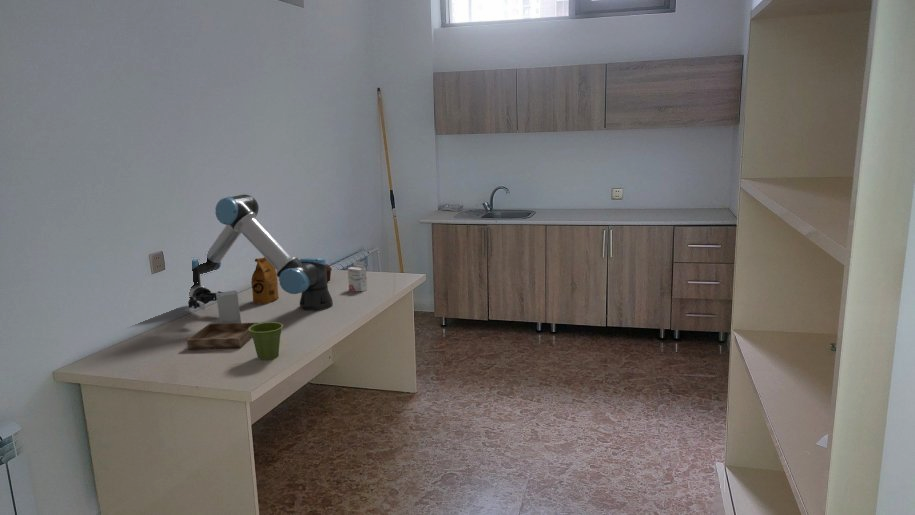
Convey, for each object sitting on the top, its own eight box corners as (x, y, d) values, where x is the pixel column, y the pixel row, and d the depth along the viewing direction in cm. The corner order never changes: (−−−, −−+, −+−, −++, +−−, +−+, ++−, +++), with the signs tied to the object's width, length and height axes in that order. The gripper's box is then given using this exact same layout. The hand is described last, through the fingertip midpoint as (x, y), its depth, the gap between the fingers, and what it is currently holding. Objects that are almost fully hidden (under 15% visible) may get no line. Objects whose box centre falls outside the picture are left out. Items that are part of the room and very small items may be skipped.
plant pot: (267, 364, 211) (263, 333, 209) (244, 359, 217) (241, 329, 215) (292, 354, 221) (290, 324, 219) (270, 349, 227) (267, 320, 225)
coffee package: (249, 303, 292) (245, 259, 288) (264, 297, 304) (260, 254, 299) (268, 304, 289) (263, 259, 285) (282, 297, 301) (277, 254, 297)
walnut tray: (258, 331, 248) (258, 322, 247) (240, 348, 228) (239, 338, 228) (210, 332, 249) (209, 323, 248) (188, 349, 229) (186, 339, 228)
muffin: (327, 284, 326) (325, 266, 324) (308, 284, 328) (306, 266, 327) (335, 279, 338) (334, 261, 336) (317, 278, 340) (315, 261, 338)
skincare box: (240, 323, 261) (236, 289, 258) (241, 327, 255) (238, 292, 253) (219, 326, 257) (215, 292, 254) (220, 330, 252) (216, 295, 249)
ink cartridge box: (348, 290, 312) (346, 262, 309) (355, 288, 316) (353, 260, 313) (361, 292, 307) (359, 263, 304) (367, 289, 311) (365, 261, 308)
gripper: (228, 297, 286) (247, 305, 271) (173, 308, 269) (190, 318, 254) (226, 282, 285) (246, 289, 269) (171, 292, 268) (188, 300, 253)
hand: (219, 303), depth 262 cm, fingers open, 13 cm apart
